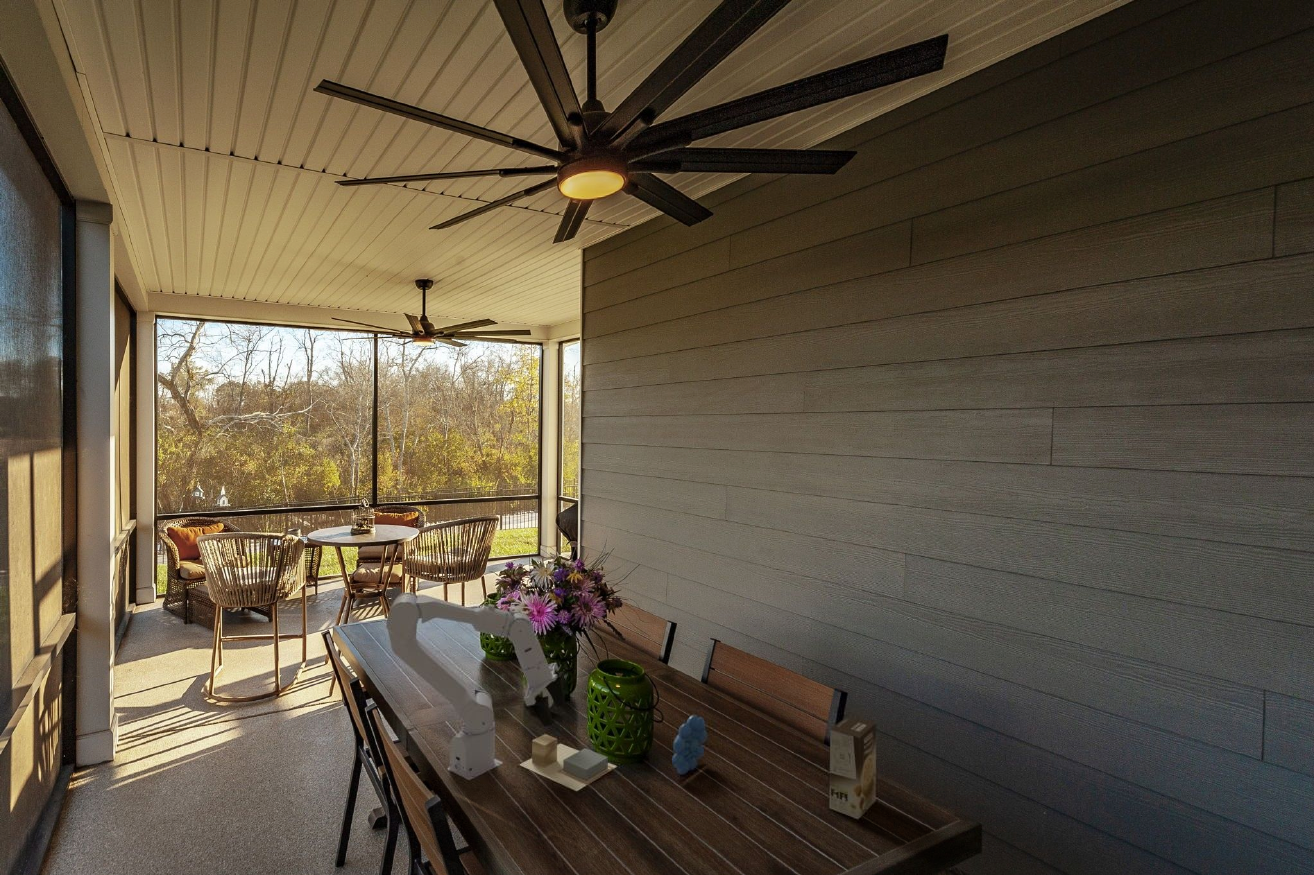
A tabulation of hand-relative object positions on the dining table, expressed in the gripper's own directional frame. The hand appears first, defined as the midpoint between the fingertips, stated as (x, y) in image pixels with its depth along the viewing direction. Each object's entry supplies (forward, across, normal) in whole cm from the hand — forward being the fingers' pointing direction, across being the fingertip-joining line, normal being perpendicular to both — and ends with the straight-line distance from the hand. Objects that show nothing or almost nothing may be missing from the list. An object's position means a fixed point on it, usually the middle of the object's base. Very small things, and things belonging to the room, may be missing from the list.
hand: (555, 714), depth 149 cm
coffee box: (+30, -5, -60) cm, 68 cm away
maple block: (+8, -6, +4) cm, 10 cm away
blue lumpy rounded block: (+20, 0, -26) cm, 33 cm away
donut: (+9, +21, +18) cm, 29 cm away
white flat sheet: (+10, -6, -2) cm, 12 cm away
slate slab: (+11, -7, -6) cm, 14 cm away
